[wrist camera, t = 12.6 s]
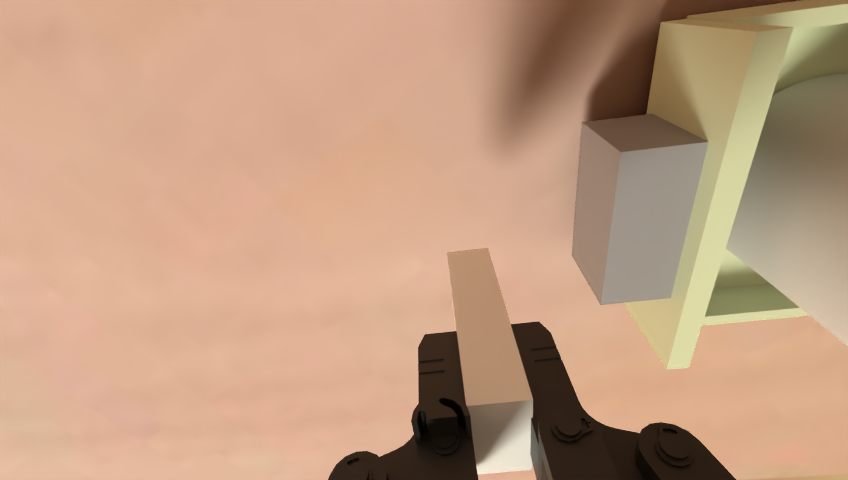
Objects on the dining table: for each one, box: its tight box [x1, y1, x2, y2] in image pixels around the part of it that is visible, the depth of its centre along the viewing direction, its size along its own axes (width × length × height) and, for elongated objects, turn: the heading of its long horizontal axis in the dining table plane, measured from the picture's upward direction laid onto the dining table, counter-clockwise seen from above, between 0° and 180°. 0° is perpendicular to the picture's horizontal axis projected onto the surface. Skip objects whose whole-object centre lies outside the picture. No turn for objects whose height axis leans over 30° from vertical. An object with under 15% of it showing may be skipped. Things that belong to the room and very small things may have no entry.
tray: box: [572, 0, 848, 370], centre depth 17 cm, size 14×20×5 cm
